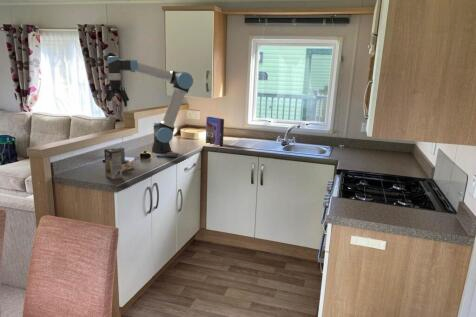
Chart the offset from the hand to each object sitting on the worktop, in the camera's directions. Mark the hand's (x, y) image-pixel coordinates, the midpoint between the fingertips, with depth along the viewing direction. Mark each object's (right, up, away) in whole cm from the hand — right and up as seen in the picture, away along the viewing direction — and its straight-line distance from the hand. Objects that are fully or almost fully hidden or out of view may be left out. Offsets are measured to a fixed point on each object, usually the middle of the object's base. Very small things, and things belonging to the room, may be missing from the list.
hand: (118, 110), depth 241 cm
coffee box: (+10, -44, -37) cm, 59 cm away
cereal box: (+63, -21, +68) cm, 95 cm away
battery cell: (+9, -39, -20) cm, 45 cm away
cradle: (+9, -40, -20) cm, 46 cm away
